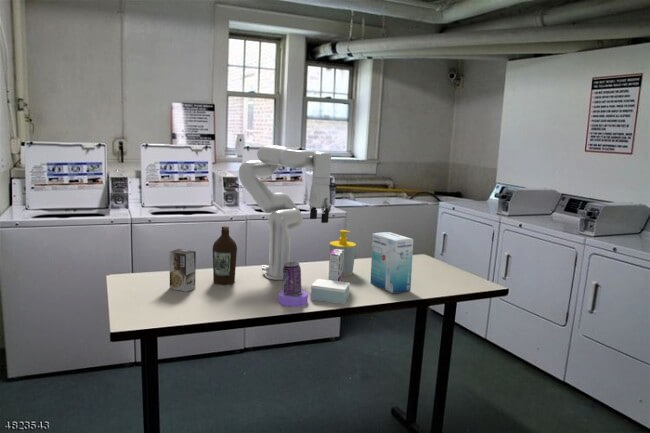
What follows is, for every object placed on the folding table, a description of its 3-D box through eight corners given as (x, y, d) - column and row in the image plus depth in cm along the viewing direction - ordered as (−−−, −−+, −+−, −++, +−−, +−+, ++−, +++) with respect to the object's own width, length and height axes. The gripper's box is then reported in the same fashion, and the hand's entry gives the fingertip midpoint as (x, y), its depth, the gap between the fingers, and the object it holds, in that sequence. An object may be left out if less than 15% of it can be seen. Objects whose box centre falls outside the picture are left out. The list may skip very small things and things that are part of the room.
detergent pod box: (310, 299, 210) (311, 285, 209) (316, 292, 220) (317, 278, 219) (343, 304, 207) (344, 289, 206) (348, 296, 216) (349, 282, 215)
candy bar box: (332, 283, 234) (334, 248, 231) (342, 284, 233) (344, 249, 230) (327, 290, 223) (329, 253, 221) (338, 291, 222) (340, 255, 220)
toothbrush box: (368, 283, 237) (372, 232, 233) (386, 280, 243) (390, 231, 239) (392, 294, 222) (396, 240, 218) (410, 291, 228) (415, 238, 224)
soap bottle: (354, 277, 246) (357, 234, 243) (327, 275, 246) (330, 232, 243) (353, 269, 259) (356, 228, 256) (328, 268, 259) (330, 227, 256)
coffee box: (196, 288, 216) (196, 251, 214) (186, 292, 210) (186, 254, 208) (179, 284, 220) (179, 248, 217) (168, 288, 214) (168, 250, 212)
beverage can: (284, 290, 209) (283, 262, 207) (301, 289, 209) (300, 261, 207) (283, 295, 202) (282, 266, 200) (301, 295, 202) (300, 265, 200)
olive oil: (215, 277, 233) (216, 223, 228) (238, 279, 232) (240, 225, 228) (208, 284, 222) (209, 228, 218) (232, 286, 222) (234, 229, 217)
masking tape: (274, 299, 209) (274, 290, 208) (301, 296, 214) (301, 288, 213) (284, 308, 199) (284, 299, 198) (311, 305, 203) (312, 296, 203)
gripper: (303, 179, 223) (301, 217, 226) (323, 183, 208) (321, 224, 211) (318, 179, 227) (316, 217, 230) (339, 183, 212) (336, 224, 215)
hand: (318, 220), depth 221 cm, fingers open, 9 cm apart
